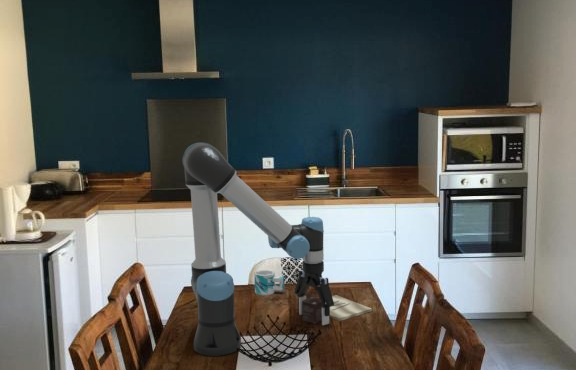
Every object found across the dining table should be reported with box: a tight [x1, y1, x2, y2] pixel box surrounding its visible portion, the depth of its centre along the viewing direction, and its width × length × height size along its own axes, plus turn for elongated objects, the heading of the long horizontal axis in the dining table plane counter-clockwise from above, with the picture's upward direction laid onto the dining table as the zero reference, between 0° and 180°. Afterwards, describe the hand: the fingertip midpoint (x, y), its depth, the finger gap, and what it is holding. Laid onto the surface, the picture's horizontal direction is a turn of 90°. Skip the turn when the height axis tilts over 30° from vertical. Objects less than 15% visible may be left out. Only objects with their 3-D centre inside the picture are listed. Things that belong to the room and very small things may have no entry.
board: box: [329, 294, 373, 322], centre depth 226 cm, size 16×20×1 cm
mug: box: [254, 269, 285, 296], centre depth 246 cm, size 8×12×8 cm
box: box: [301, 296, 323, 324], centre depth 215 cm, size 6×6×7 cm
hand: (313, 319), depth 215 cm, fingers open, 12 cm apart
